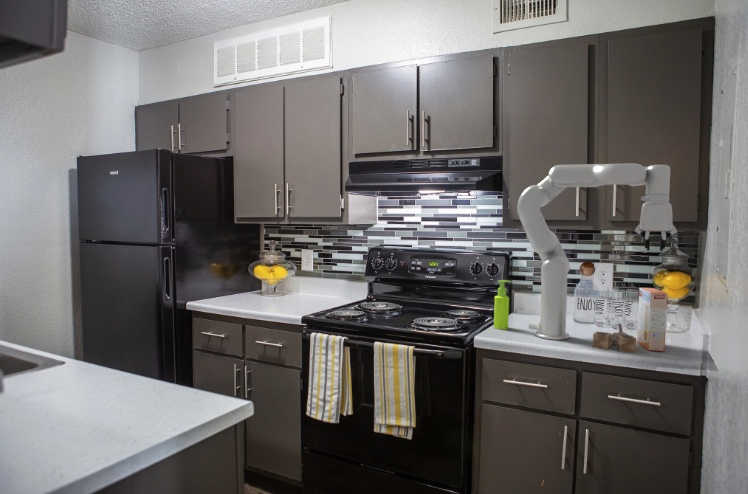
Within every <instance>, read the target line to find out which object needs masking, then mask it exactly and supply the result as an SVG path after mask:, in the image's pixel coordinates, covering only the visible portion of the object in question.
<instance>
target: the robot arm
mask: <svg viewBox="0 0 748 494" xmlns="http://www.w3.org/2000/svg"><path fill="white" fill-rule="evenodd" d="M670 182H671V167H670V165H667V164H652V165H651V164H650V165H649V166H643V165H642V164H639V163H631V162H630V163H605V164H604V163H593V164H591V163H589V164H588V163H586V164H583V163H582V164H557V165H554V166H552V167H551V168H550V169H549V171H548V175H547V176H546V177H545V178H544V179H543V180H542V181H540V182H539V183H538V184H533V185H529V186H528V187H527V188H526V189H524V190H523V191H522V192H521V195H520V196H519V198H518V201H517V215H518V218H519V220H520V222H521V225H522V228H523V229H524V232H525V234H526V237H527V238H528V241H529V243H530V246H531V249H533V251H534V252H535V253H537V254H538V256H539V258H540V260H541V261H542V264H541V268H540V280H541V281H540V283H541V285H540V286H541V287H540V288H541V289H540V290H541V291H540V318H539V319H540V320H539V323H537V324H533V323H529V324H528V329H529V330H533V331H534V330H535V331H536V332H535V336H537V337H538V338H542V339H546V340H552V341H553V340H555V341H556V340H559V341H563V340H564V341H565V340H568V339H570V333H568V332H567V331H566V330H567V328H566V327H567V326H566V325H567V301H568V297H567V296H568V293H567V292H568V273H569V272H570V269H571V264H570V261H569V259H568V257H567V255H566V253H565V250H564V249H563V246H562V244H561V242H560V240H559V238H558V236H557V235H556V233H554V232H553V231H551V230H550V228H549V227H548V225H547V222H546V219H545V218H544V215H543V213H542V212H541V208H542V207H545V206H546V205H548V204H549V203H550V202H552V200H554V199H555V198H556V197H557V196H558V195H560V194H562V192H564V191H565V190H566V189H567V188H597V187H602V186H612V185H613V186H614V185H616V186H617V185H624V186H626V185H628V186H631V187H637V186H638V187H639V186H645V195H644V196H640V201H643V202H644V203H642V206H641V210H640V211H641V212H640V219H639V224H638V225H637V226H636V227H635V229H634V232H635V233H636V234H638V235H640V236H641V237H642V238H644V240H645V241H644V248H645V249H646V251H648V252H649V251H650V249H651V248H650V247H651V246H650V245H651V240H650V233H651V232H661V233H660V234H661V238H660V241H659V251H660V252H663V251H664V250H665V249H666V240H667V239H669V237H671V236H672V235H675V234H677V233H678V230H677V228H676V226H674V224H673V208H672V207H673V206H672V203H670ZM643 231H644V232H643Z"/></svg>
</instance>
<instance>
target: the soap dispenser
mask: <svg viewBox="0 0 748 494" xmlns="http://www.w3.org/2000/svg"><path fill="white" fill-rule="evenodd" d="M497 282H498V283H500V284H499V287H498V288H497V295H495V296H494V304H493V305H494V307H493V309H494V310H493V313H494V314H493V329H496V330H508V329H509V318H510V317H509V314H510V310H509V309H510V297H509V296H508V295H507V288H506V287H505V283H511V284H512V283H513V281H511V280H507V279H500V280H498V281H497Z"/></svg>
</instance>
